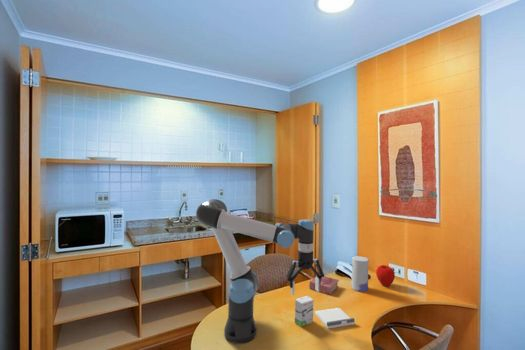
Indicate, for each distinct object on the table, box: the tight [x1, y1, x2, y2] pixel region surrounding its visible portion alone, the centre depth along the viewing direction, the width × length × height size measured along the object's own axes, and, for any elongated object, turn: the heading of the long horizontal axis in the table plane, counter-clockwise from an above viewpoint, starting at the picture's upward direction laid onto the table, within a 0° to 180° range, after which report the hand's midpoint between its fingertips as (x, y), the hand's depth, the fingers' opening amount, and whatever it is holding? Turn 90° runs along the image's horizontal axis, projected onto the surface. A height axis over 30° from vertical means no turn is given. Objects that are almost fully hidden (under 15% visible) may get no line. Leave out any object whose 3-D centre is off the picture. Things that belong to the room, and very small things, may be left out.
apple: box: [375, 264, 396, 288], centre depth 179 cm, size 12×12×13 cm
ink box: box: [294, 295, 315, 327], centre depth 134 cm, size 9×5×12 cm, turn 123°
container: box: [351, 255, 370, 293], centre depth 173 cm, size 10×10×20 cm
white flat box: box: [314, 307, 355, 330], centre depth 138 cm, size 15×14×3 cm
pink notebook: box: [308, 275, 340, 296], centre depth 173 cm, size 14×15×5 cm
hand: (305, 292), depth 134 cm, fingers open, 13 cm apart
